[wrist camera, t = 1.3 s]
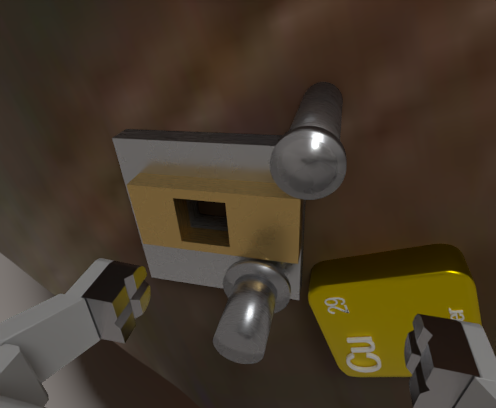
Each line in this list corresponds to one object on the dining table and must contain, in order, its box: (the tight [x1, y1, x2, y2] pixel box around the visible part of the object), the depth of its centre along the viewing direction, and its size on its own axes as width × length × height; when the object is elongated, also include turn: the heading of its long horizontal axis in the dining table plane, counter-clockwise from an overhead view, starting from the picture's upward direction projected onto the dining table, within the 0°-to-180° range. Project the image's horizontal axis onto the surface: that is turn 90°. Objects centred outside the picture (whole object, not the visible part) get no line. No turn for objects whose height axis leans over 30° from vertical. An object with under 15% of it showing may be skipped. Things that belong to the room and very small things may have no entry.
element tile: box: [308, 244, 482, 377], centre depth 36 cm, size 15×15×5 cm
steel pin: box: [270, 82, 346, 200], centre depth 23 cm, size 4×4×12 cm
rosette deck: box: [112, 129, 305, 364], centre depth 31 cm, size 18×18×12 cm
